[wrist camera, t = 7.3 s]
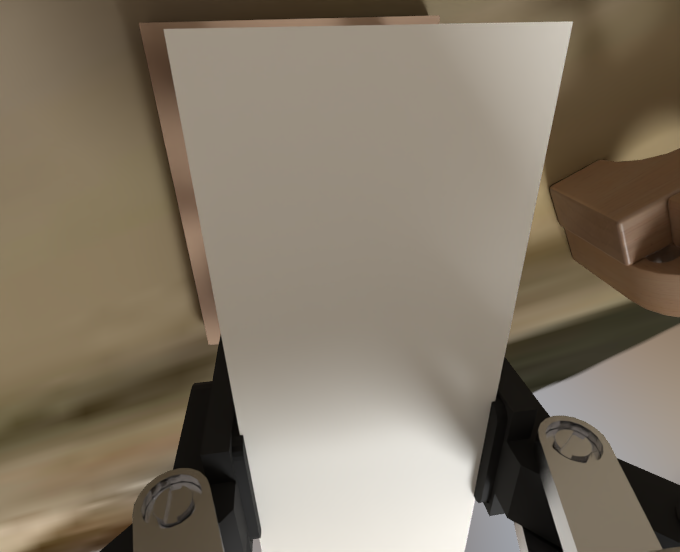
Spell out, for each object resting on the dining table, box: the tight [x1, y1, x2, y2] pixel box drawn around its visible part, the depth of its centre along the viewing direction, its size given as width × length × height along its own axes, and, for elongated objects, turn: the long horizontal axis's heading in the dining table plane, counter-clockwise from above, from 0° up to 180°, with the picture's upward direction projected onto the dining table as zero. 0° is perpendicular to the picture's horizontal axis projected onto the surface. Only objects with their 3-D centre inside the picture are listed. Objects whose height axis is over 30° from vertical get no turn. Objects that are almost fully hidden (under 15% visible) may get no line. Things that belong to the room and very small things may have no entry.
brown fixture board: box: [139, 16, 440, 345], centre depth 24 cm, size 18×14×4 cm
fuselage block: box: [163, 22, 573, 552], centre depth 11 cm, size 16×5×4 cm, turn 1°
